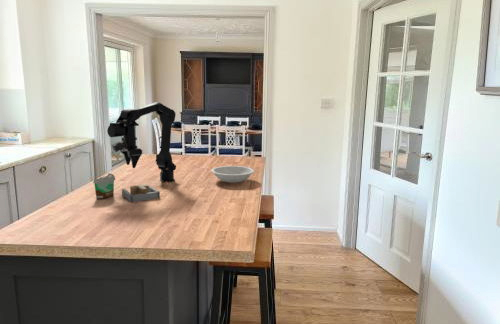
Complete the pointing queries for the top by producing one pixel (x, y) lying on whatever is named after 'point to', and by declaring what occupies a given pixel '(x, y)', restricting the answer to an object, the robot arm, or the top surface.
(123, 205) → the top surface
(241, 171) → the soup bowl
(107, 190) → the food container
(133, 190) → the wooden t-shaped block
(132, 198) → the corral
